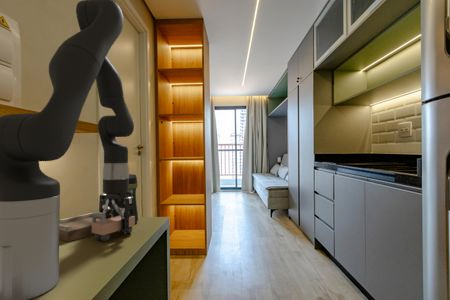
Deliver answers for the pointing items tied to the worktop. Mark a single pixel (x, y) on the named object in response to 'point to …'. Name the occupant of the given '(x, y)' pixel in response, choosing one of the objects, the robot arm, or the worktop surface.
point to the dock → (76, 227)
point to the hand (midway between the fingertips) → (115, 228)
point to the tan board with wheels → (108, 226)
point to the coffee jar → (130, 193)
